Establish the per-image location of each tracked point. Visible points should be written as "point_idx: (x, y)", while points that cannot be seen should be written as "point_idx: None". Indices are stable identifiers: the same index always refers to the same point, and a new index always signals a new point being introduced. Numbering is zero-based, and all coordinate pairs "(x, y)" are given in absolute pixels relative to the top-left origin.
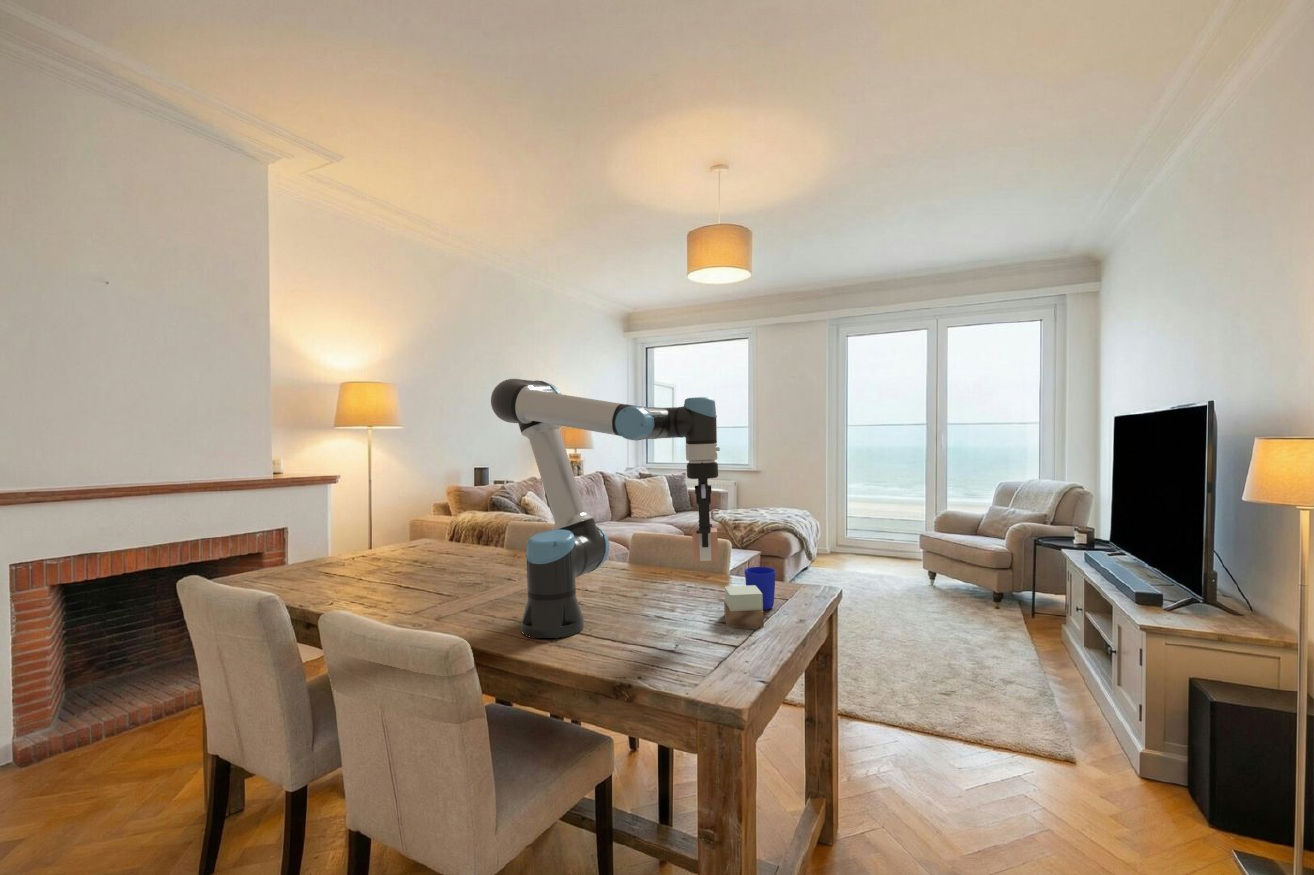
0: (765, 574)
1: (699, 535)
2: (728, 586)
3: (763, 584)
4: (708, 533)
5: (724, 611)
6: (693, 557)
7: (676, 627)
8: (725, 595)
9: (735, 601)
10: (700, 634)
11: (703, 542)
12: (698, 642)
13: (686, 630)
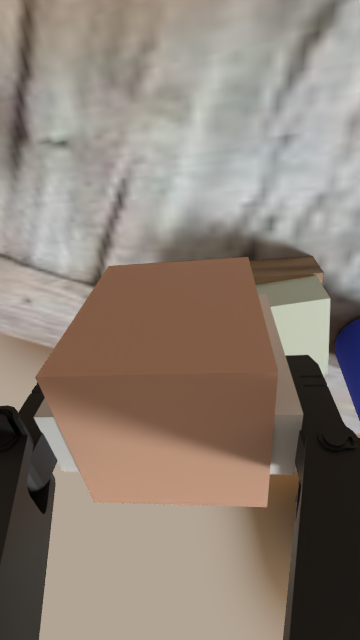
0: (358, 415)
1: (43, 407)
2: (328, 309)
3: (350, 388)
4: (57, 462)
5: (311, 261)
6: (100, 280)
7: (205, 119)
8: (310, 287)
9: None
10: (155, 201)
11: (38, 392)
12: (98, 201)
13: (181, 157)
